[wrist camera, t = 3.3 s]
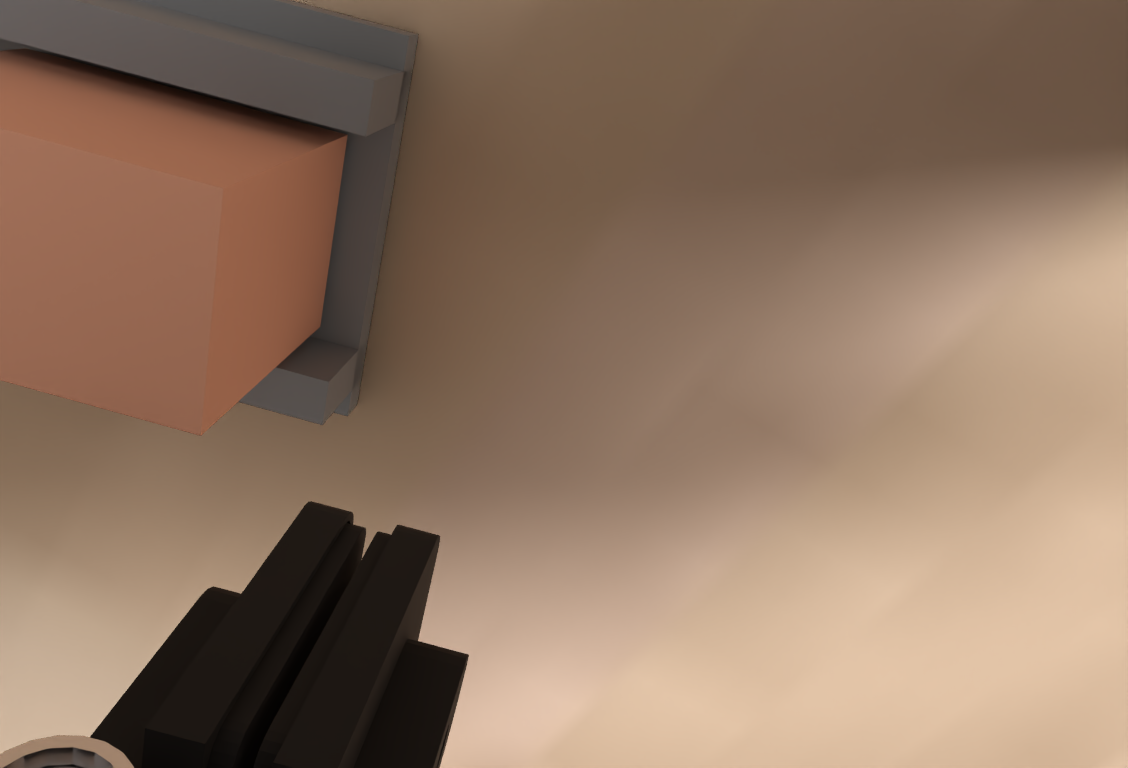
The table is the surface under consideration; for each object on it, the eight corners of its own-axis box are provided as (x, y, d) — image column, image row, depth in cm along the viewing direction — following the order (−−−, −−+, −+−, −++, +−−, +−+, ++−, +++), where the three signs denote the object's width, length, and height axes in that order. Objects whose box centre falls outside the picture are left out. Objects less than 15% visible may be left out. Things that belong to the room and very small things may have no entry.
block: (347, 134, 23) (223, 188, 17) (320, 326, 25) (200, 435, 19) (26, 48, 23) (-210, 71, 17) (25, 245, 25) (-187, 328, 19)
